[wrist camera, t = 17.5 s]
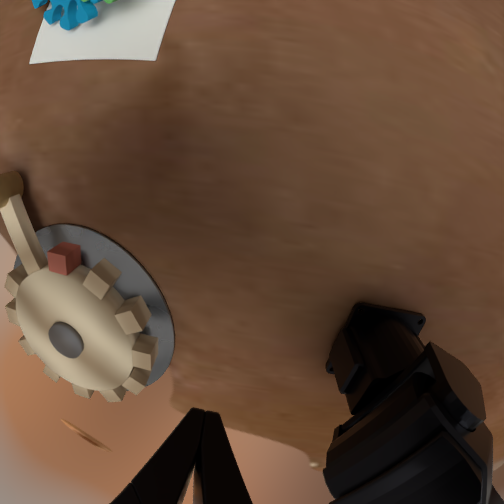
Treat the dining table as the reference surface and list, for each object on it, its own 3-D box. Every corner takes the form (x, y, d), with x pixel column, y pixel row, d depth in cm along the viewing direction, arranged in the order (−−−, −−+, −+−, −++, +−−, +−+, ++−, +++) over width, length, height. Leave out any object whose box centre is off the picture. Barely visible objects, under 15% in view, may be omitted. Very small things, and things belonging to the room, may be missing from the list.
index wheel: (10, 164, 16) (-58, 184, 10) (196, 323, 20) (172, 399, 14) (-21, 287, 20) (-64, 321, 14) (117, 405, 24) (93, 461, 18)
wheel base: (187, 251, 19) (186, 253, 19) (168, 407, 25) (167, 409, 24) (8, 207, 18) (6, 208, 18) (30, 355, 24) (28, 356, 23)
